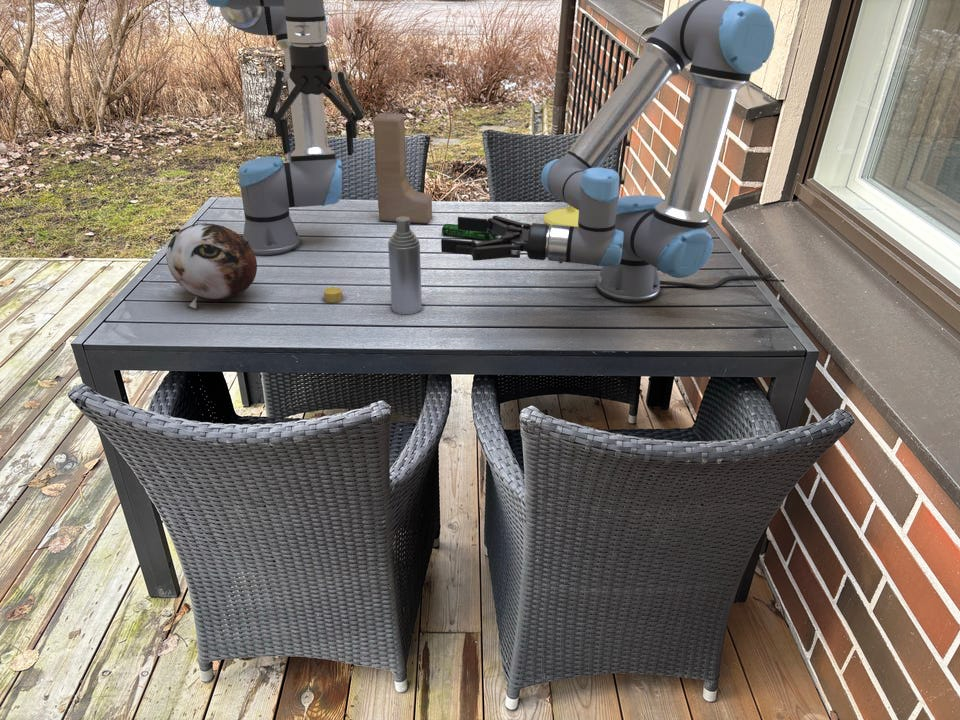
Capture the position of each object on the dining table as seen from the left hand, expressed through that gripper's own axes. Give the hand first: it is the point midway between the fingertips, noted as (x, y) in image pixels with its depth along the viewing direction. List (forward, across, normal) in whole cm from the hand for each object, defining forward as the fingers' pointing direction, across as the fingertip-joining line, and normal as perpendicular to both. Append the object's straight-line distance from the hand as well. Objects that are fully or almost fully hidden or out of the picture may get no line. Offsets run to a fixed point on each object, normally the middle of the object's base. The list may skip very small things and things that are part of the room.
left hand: (318, 153), depth 151 cm
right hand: (+15, +28, -6) cm, 32 cm away
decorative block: (+34, +10, +56) cm, 66 cm away
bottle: (+34, +18, -4) cm, 39 cm away
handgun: (+34, +32, +46) cm, 66 cm away
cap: (+32, 0, 0) cm, 32 cm away
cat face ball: (+34, -27, 0) cm, 44 cm away
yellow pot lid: (+34, +59, +51) cm, 85 cm away
